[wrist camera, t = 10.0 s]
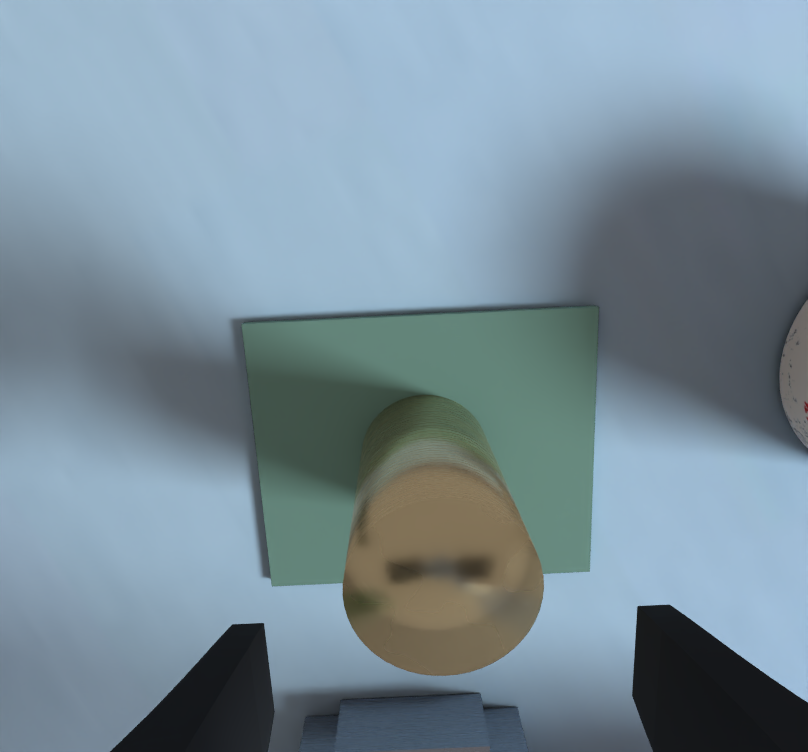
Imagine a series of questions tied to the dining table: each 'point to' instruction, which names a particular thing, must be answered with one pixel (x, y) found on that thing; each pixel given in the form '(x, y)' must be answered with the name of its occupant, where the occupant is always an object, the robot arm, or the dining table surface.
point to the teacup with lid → (796, 375)
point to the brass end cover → (437, 544)
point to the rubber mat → (410, 376)
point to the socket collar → (416, 726)
